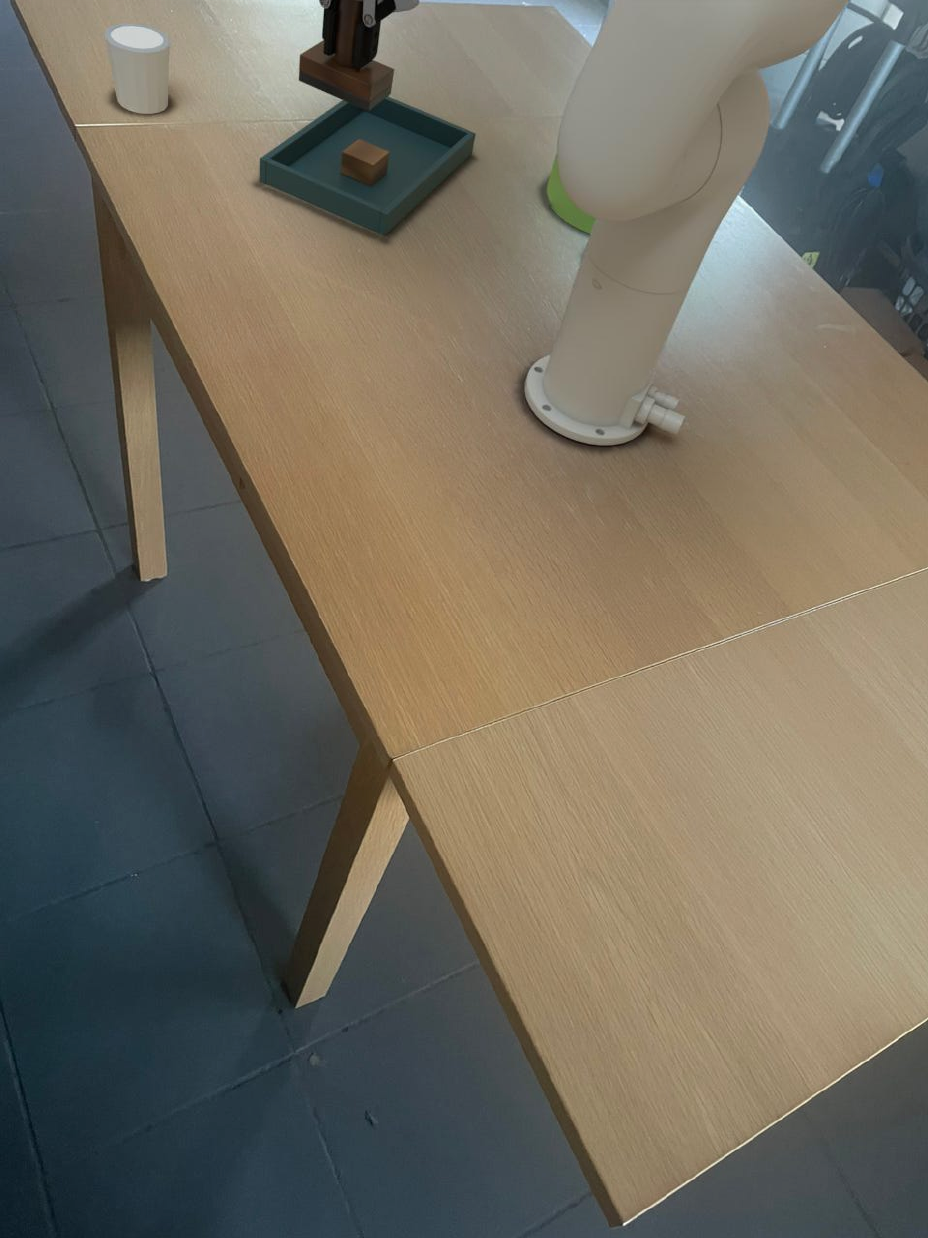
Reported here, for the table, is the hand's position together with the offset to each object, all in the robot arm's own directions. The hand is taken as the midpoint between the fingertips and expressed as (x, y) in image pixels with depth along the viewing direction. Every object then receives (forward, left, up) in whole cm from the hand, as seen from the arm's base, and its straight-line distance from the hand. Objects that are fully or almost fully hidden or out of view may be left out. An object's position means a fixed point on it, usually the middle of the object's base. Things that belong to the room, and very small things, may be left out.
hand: (348, 55), depth 91 cm
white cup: (+27, -2, -15) cm, 31 cm away
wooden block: (0, -6, -14) cm, 16 cm away
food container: (-28, -17, -15) cm, 36 cm away
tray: (0, -8, -15) cm, 17 cm away
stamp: (0, 0, -3) cm, 3 cm away
